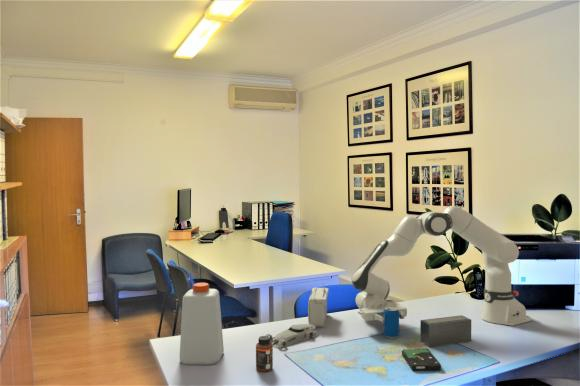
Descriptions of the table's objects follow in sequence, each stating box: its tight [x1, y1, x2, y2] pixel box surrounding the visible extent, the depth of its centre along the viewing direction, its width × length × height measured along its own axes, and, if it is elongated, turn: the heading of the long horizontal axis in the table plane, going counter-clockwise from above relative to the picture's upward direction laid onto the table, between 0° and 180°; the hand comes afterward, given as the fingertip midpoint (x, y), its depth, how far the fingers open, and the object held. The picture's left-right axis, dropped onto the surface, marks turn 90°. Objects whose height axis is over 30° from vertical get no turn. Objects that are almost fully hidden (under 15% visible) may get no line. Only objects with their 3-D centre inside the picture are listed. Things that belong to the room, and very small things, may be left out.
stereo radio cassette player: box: [307, 284, 330, 328], centre depth 215 cm, size 21×8×20 cm, turn 172°
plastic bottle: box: [179, 282, 225, 366], centre depth 173 cm, size 15×15×28 cm
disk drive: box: [401, 348, 442, 372], centre depth 168 cm, size 10×3×15 cm
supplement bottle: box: [255, 335, 274, 373], centre depth 163 cm, size 6×6×11 cm
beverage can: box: [382, 306, 400, 339], centre depth 194 cm, size 6×6×12 cm
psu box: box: [419, 314, 472, 348], centre depth 188 cm, size 20×6×9 cm, turn 107°
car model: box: [264, 323, 317, 350], centre depth 192 cm, size 11×24×5 cm, turn 132°
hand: (392, 318), depth 193 cm, fingers open, 8 cm apart
